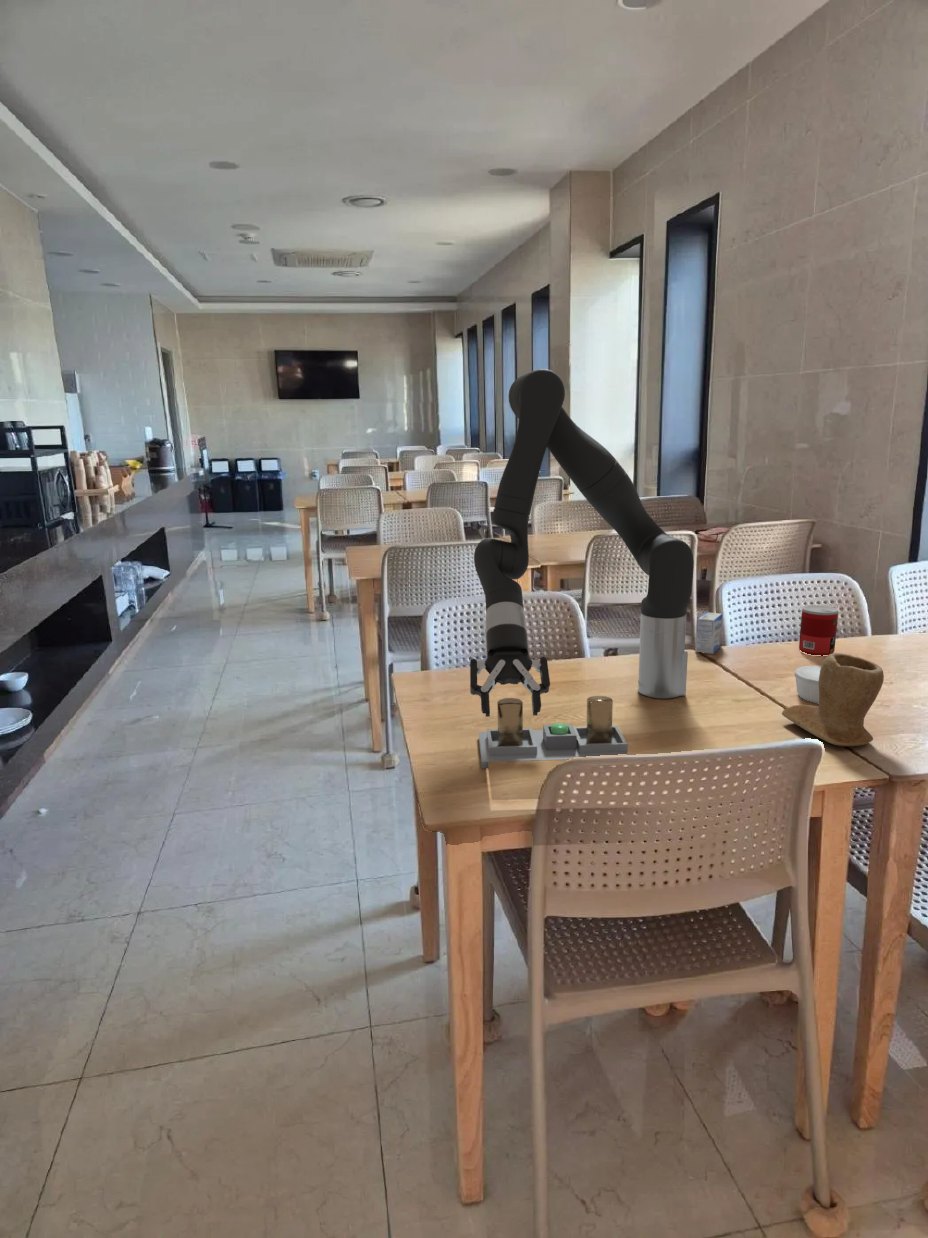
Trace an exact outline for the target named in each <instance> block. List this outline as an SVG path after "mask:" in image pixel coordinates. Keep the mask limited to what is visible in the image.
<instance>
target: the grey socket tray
mask: <svg viewBox="0 0 928 1238" xmlns="http://www.w3.org/2000/svg"><path fill="white" fill-rule="evenodd" d="M565 724H566V723H565ZM551 725H552V724H543V725H542V730H539V729H537V730H536V729H535V730H534V729H533V728H532V727H531V728H523V746H498V728H497V729H486V731H479V732H478V741H479V751H480V761H481V769H489V763H497V762H499V763H501V762H530V761H531V762H534V761H564V760H565V761H567V759H570V758H574V757H586V756H600V755H618V754H628V755H629V753H628V742H627V740H626V739H625V737H624V736H623V734H622V731H621V730H620V728H619V726H618V725H612V743H598V744H587V743H586V735H587V726H574V725H573V724H572V723H569V724H568V723H567V724H566V725H568V734H551Z"/></svg>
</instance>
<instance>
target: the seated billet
mask: <svg viewBox="0 0 928 1238" xmlns="http://www.w3.org/2000/svg"><path fill="white" fill-rule="evenodd" d="M613 703H614V701H613V699H612V698H611V697H609V696H606V695H592V696H589V697H588V698H587V699H586V727H587V735H586V743H587V744H598V743H612V726H613V705H614V704H613Z"/></svg>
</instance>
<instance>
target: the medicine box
mask: <svg viewBox="0 0 928 1238" xmlns="http://www.w3.org/2000/svg"><path fill="white" fill-rule="evenodd" d="M695 623H696V625H695V649H694V650H696V651H695V653H699V652H704V653H703V654H706V655H707V654H709V655H713V654H715V653H716V651H718V649H719V648H720V647H722V631H723V630H722V629H723V613H720V612H719V613H718V612H717V613H715V612H704V614H702V615H701V616H700V617H698V618H697V619H696V622H695Z"/></svg>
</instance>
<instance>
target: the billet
mask: <svg viewBox="0 0 928 1238" xmlns="http://www.w3.org/2000/svg"><path fill="white" fill-rule="evenodd" d="M496 705H497V706H496V707H497V729H498V746H523V729H524V713H523V712H524V709H523V708H524V706H523V705H524V704H523V700H522V699H520V698H515V697H505V698H501V699H499V700H497V703H496Z"/></svg>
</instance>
